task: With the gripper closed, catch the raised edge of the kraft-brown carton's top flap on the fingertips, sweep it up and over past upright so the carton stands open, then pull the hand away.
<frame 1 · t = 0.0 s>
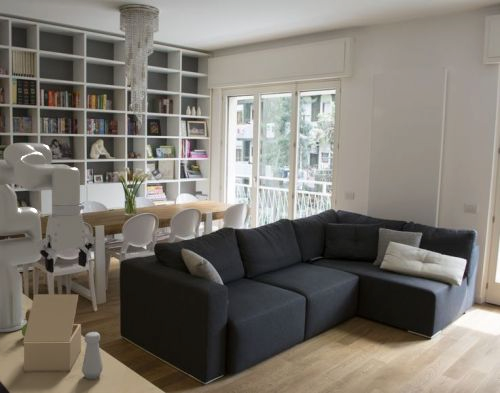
hand: (66, 268, 141), 31 cm above the table, tool pointing down, fingers open, 9 cm apart
carton: (54, 360, 150), on the table
salt shaker: (92, 376, 142), on the table
snail figurine: (31, 337, 167), on the table
flap: (51, 317, 147), point 15 cm above the table, hinge at 45.0°
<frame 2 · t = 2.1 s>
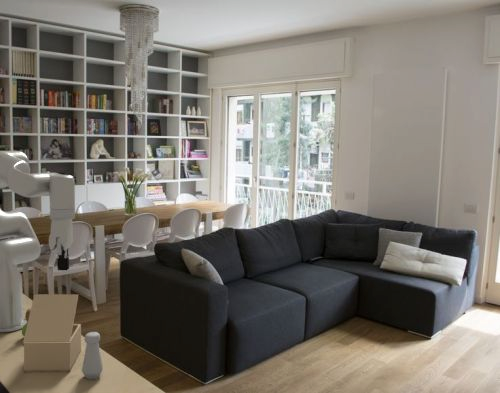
hand: (63, 269, 158), 26 cm above the table, tool pointing down, fingers closed
nothing on the table moved.
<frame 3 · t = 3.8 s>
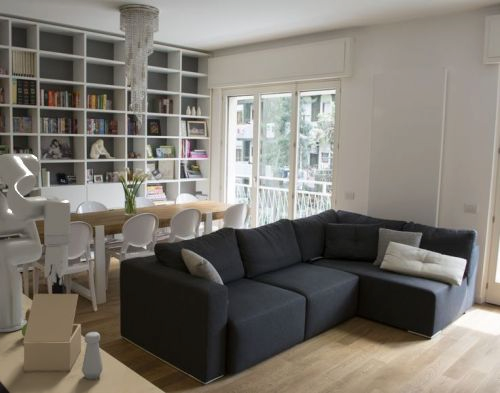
hand: (57, 296, 153), 19 cm above the table, tool pointing down, fingers closed
flap: (51, 317, 147), point 15 cm above the table, hinge at 46.6°, touching gripper
everything else where it was.
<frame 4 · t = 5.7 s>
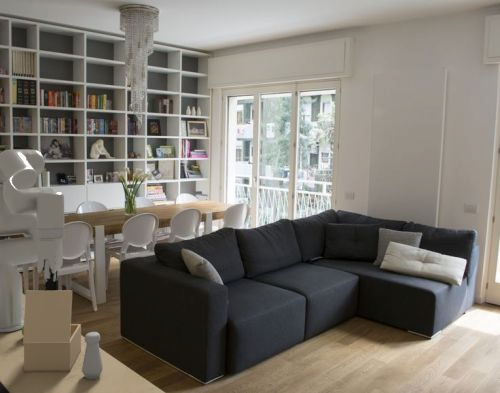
hand: (52, 293, 145), 22 cm above the table, tool pointing down, fingers closed
flap: (48, 316, 143), point 17 cm above the table, hinge at 78.0°, touching gripper
everything else where it was.
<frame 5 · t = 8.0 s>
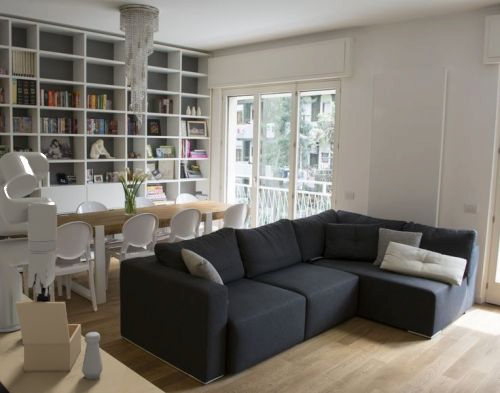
hand: (43, 308, 138), 21 cm above the table, tool pointing down, fingers closed
flap: (43, 323, 139), point 16 cm above the table, hinge at 110.1°, touching gripper
everything else where it was.
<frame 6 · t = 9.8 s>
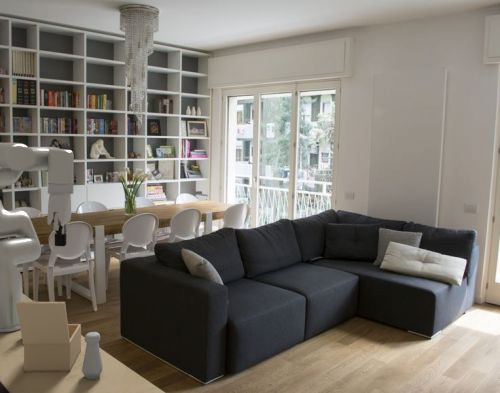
hand: (60, 245, 155), 34 cm above the table, tool pointing down, fingers closed
flap: (43, 323, 139), point 16 cm above the table, hinge at 110.1°
everything else where it was.
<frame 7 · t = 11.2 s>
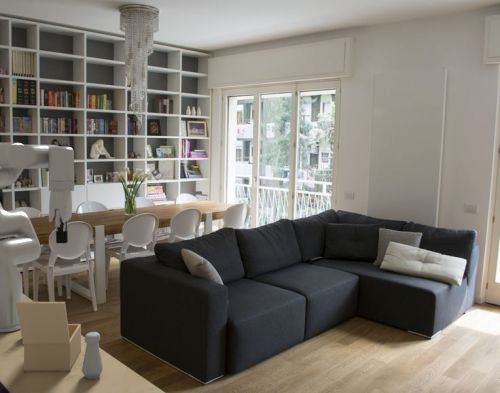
hand: (61, 242, 156), 35 cm above the table, tool pointing down, fingers closed
nothing on the table moved.
at the end: flap at +110° (first picture: +45°) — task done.
